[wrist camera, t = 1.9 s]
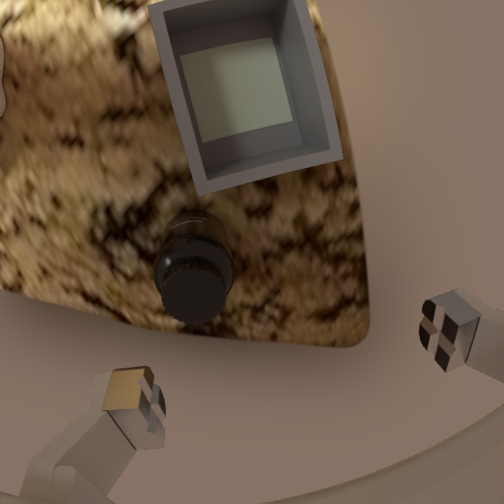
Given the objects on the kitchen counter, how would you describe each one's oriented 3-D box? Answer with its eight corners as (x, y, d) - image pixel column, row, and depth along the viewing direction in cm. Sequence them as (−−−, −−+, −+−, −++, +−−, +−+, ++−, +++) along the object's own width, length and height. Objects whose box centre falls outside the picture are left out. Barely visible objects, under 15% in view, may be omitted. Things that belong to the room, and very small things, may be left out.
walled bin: (310, 150, 32) (343, 159, 25) (197, 180, 31) (198, 196, 24) (274, 9, 26) (298, -20, 18) (157, 33, 25) (147, 5, 17)
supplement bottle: (191, 194, 32) (190, 232, 21) (239, 237, 34) (262, 292, 23) (148, 243, 33) (129, 301, 22) (196, 281, 35) (200, 350, 24)
